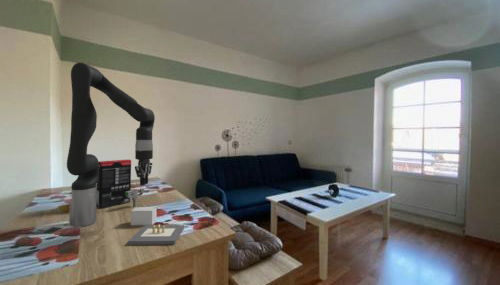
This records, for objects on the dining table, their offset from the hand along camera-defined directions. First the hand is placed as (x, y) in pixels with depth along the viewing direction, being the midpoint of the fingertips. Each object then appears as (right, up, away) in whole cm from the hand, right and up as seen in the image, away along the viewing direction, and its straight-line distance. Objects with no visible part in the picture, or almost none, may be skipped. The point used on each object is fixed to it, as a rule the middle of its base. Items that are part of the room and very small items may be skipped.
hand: (144, 184), depth 99 cm
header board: (+12, -20, -12) cm, 26 cm away
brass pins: (+12, -18, -12) cm, 25 cm away
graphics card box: (-32, -18, +26) cm, 45 cm away
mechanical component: (-18, -18, +23) cm, 34 cm away
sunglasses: (-50, -18, +18) cm, 56 cm away
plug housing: (0, -19, +1) cm, 19 cm away
